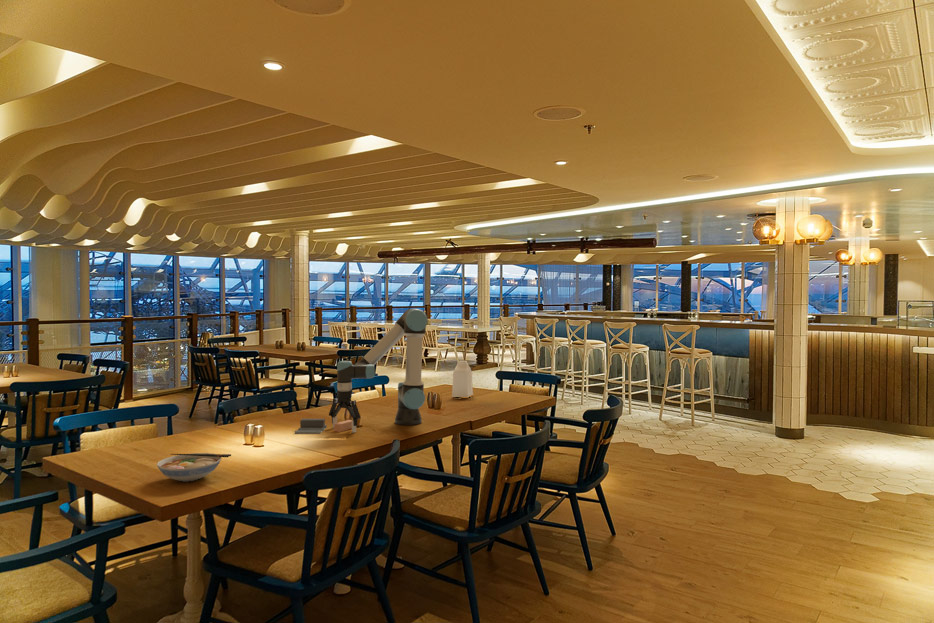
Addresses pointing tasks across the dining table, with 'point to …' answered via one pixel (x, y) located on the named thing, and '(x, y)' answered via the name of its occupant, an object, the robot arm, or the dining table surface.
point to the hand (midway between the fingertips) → (344, 430)
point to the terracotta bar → (343, 426)
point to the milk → (462, 380)
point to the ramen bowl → (189, 465)
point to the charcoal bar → (312, 423)
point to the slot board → (310, 430)
